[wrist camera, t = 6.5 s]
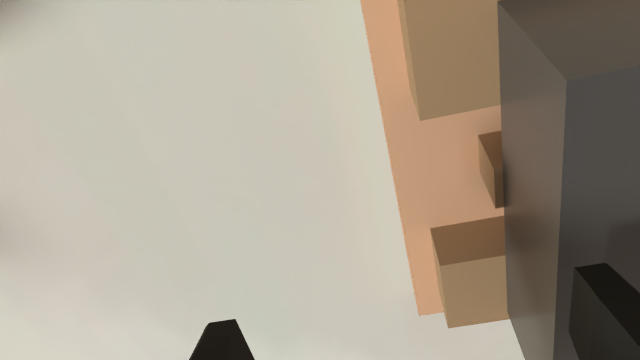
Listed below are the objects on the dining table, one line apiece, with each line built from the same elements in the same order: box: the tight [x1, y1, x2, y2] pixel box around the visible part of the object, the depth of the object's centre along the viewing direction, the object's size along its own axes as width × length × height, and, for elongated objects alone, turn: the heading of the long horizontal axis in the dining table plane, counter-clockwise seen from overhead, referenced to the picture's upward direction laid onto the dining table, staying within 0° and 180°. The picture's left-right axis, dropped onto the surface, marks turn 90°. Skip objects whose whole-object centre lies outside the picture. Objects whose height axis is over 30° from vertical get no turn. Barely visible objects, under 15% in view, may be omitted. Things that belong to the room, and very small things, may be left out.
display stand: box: [361, 0, 510, 328], centre depth 18 cm, size 16×10×4 cm, turn 13°
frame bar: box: [497, 0, 640, 360], centre depth 15 cm, size 12×4×4 cm, turn 13°
